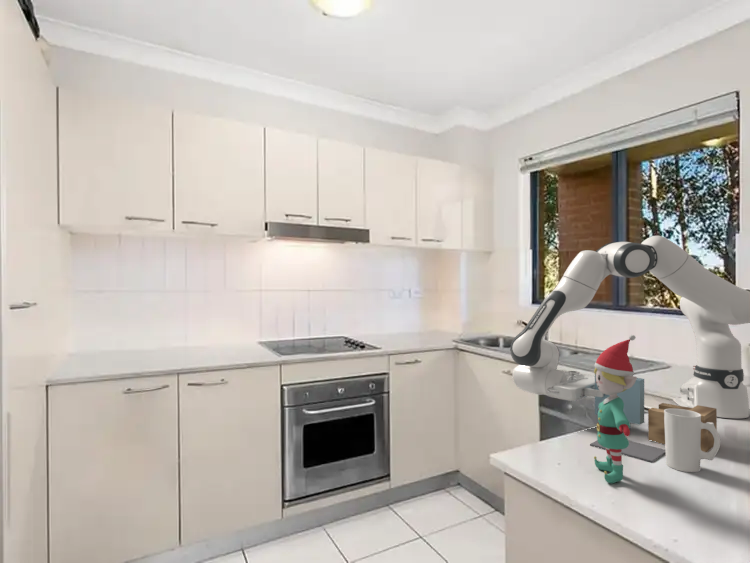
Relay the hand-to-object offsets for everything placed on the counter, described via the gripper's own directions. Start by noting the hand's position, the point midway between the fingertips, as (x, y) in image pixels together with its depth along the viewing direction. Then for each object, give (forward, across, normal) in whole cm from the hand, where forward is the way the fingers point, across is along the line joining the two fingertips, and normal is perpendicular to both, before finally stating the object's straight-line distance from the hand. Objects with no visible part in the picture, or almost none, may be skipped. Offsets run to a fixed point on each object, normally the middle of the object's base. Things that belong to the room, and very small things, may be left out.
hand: (607, 392), depth 128 cm
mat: (+11, -15, +9) cm, 21 cm away
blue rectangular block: (+3, 0, +7) cm, 7 cm away
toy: (+16, -34, +9) cm, 39 cm away
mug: (+25, -17, +9) cm, 32 cm away
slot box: (+18, 0, +9) cm, 21 cm away
